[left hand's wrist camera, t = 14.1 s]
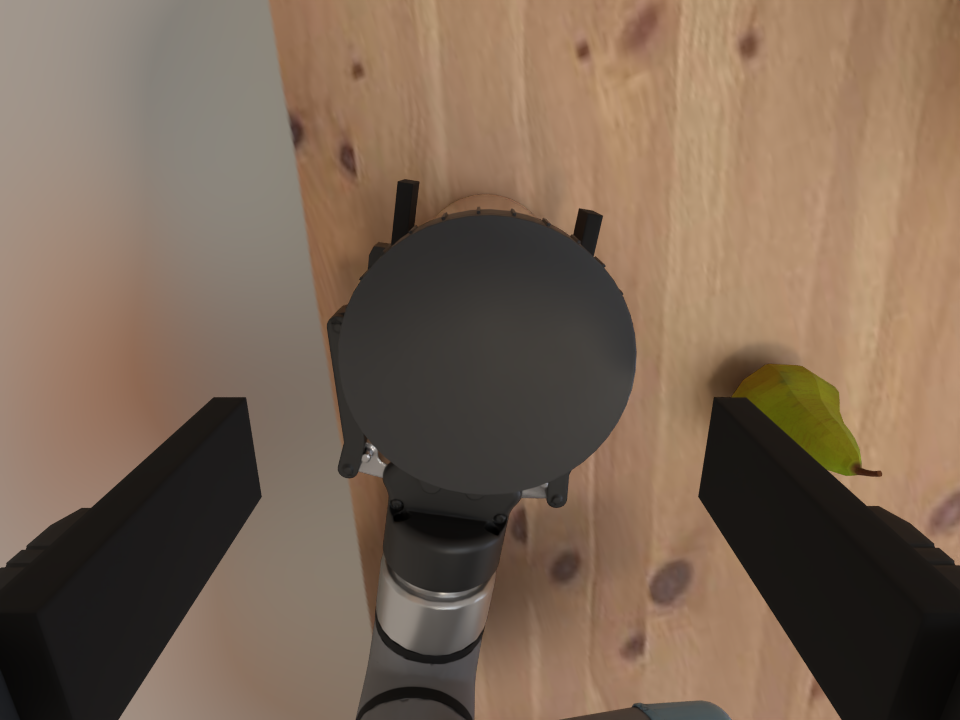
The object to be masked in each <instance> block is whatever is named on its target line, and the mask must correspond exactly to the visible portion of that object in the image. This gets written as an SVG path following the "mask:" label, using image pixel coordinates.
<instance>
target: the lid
mask: <svg viewBox="0 0 960 720" xmlns="http://www.w3.org/2000/svg"><path fill="white" fill-rule="evenodd" d="M580 243H581V241H579V240H578V239H577V238H576V237H575V236H574V235H571V236H569V235H568V234H566V233H565V232H564V231H562V230H560V229H559V228H557V227H555V226H553V225H551V224H550V223H549V222H548V221H547V220H546V219H545V218H543V219H542V220H540V219H537V218H535V217H532V216H529V215H526V214H522V213H517V212H515V210H514V209H511V211H507V210H496V209H480V207H477V210H467V211H462V212H457V213H451V214H447V212H446V213H444V214H443V216H442V217H439V218H436V219H433V220H431V221H429V222H427V223H425V224H423V225H421V226H419V227H417V225H415V226H414V227H413V228H412V229H411V230H410V231H409V233H408V234H406V235H405V236H403V237H402V238H400V239H399V240H398V241H397V242H396V243H395V244H394V245H393V246H391V245H389V246H388V247H386V248H385V249H384V250H383V251H382V252H381V254H382V256H381V257H380V258H379V259H378V260H377V261H376V262H375V263H374V264H373V266H372V267H371V268H370V269H368V270H367V271H366V272H365V273H364V274H363V275H362V276H361V277H360V279H359V280H361V281H360V283H359V284H358V286H357V288H356V289H355V291H354V292H353V295H352V297H351V299H350V301H349V304H348V305H347V306H346V308H345V309H346V311H345V314H344V318H343V321H342V325H341V329H340V336H339V343H338V367H339V374H340V381H341V385H342V389H343V392H344V396H345V399H346V402H347V404H348V406H349V409H350V411H351V413H352V415H353V417H354V419H355V421H356V422H357V424H358V426H359V427H360V429H361V431H362V432H363V433H364V435H365V436H366V437H367V438H368V440H369V441H370V442H371V443H372V445H373V446H374V447H375V448H376V449H377V450H378V451H379V452H380V453H381V454H382V455H383V456H384V457H385V458H387V459H388V460H389V461H390V462H392V463H393V464H394V465H396V466H397V467H398V468H400V469H401V470H403V471H405V472H406V473H408V474H410V475H411V476H413V477H415V478H417V479H419V480H421V481H424V482H426V483H428V484H430V485H433V486H436V487H440V488H443V489H446V490H450V491H455V492H460V493H466V494H478V495H495V494H507V493H513V492H520V491H523V490H527V489H531V488H535V487H538V486H540V485H543V484H545V483H548V482H550V481H553V480H555V479H557V478H559V477H560V476H562V475H564V474H566V473H568V472H569V471H571V470H572V469H574V468H575V467H577V466H578V465H580V464H581V463H582V462H584V461H585V460H586V459H587V458H588V457H589V456H590V455H591V454H593V453H594V452H595V451H596V450H597V449H598V448H599V447H600V445H601V444H602V443H603V442H604V441H605V440H606V439H607V437H608V436H609V435H610V433H611V432H612V430H613V429H614V427H615V426H616V424H617V423H618V421H619V419H620V417H621V415H622V413H623V411H624V409H625V407H626V405H627V402H628V399H629V396H630V393H631V390H632V386H633V381H634V376H635V370H636V341H635V332H634V328H633V323H632V319H631V315H630V313H629V310H628V308H627V305H626V302H625V300H624V297H623V296H622V295H623V293H622V291H621V290H620V289H619V288H618V287H617V285H616V283H615V281H614V280H613V279H612V277H611V276H610V275H609V273H608V272H607V271H606V270H605V268H604V267H605V265H604V263H602V262H601V261H600V260H599V259H598V258H597V257H596V256H595V257H593V256H592V255H591V254H590V253H589V252H588V251H587V250H586V249H585V248H584V247H583V246H582V245H581V244H580Z"/></svg>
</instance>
